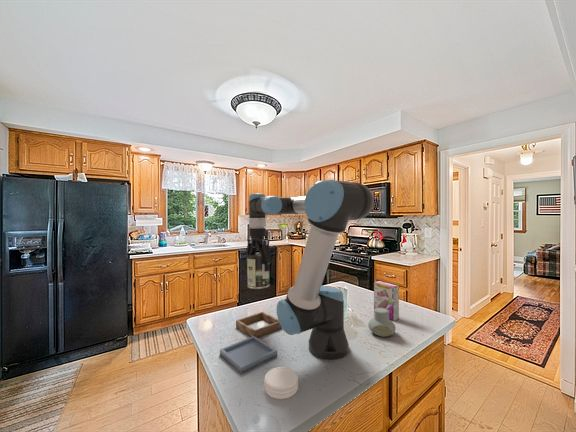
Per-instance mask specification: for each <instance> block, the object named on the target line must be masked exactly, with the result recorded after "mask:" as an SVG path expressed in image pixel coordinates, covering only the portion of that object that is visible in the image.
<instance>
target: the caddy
mask: <svg viewBox="0 0 576 432" xmlns="http://www.w3.org/2000/svg"><path fill="white" fill-rule="evenodd" d="M261 320H263V321H265V322H266V323H267V322H268V323H270V324H268V325H265V326H262V327H260V328H257V329H254V328H253V327H250V326H249V324H252V323H255V322H257V321H261ZM235 328H237V329H238V330H240V331H241V332H243V333H244V334H246V335H248V336H249V337H252V336H255V337H257V338H258V339H259V338H261V337H263V336H265V335H268V334H270V333H273V332H275V331H278V330H279V329H282V327H281V325H280V323H279V320H278V317H277V318H276V317H274V316H272V315H270V314H268V313H266V312H265V311H261V312H258V313H255V314H251V315H249V316H246V317H242V318H240V319H237V320H236V321H235Z"/></svg>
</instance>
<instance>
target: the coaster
mask: <svg viewBox="0 0 576 432" xmlns="http://www.w3.org/2000/svg"><path fill="white" fill-rule="evenodd" d="M263 382H264V392H265V393H266V395H267V396H268V397H270V398H272V399H275V400H287V399H290V398H291V397H293V396H294V395H296V393H297V392H298V390H299V376H298V373H297V372H296V370H294V369H292V368H291V367H287V366H278V367H274V368H271V369H270V370H268V371H267V373H265V376H264V381H263Z"/></svg>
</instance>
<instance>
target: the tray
mask: <svg viewBox="0 0 576 432" xmlns="http://www.w3.org/2000/svg"><path fill="white" fill-rule="evenodd" d="M219 356H220V357H222V358H223V359H224V360H225V361H226V362H227V363H228V364H230V365H231V367H233V368H234V369H235V370H236V371H237V372H239V373H240V374H241V375H242V374H244V373H246V372H249V370H252V369H254V368H256V367H258V366H260V365H262V364H264V363H266V362H268V361H270V360H272V359H274V358H276V357H277V356H278V349H275V347H273V346H271V345H269V344H268V343H266V342H264V340H261V339H260V338H259V337H258V338H257V337H255V336H252V337H251V336H249V337H248V338H245V339H242V340H239V341H237V342H235V343H233V344H230V345H228V346H224V347H223V348H220V349H219Z"/></svg>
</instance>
